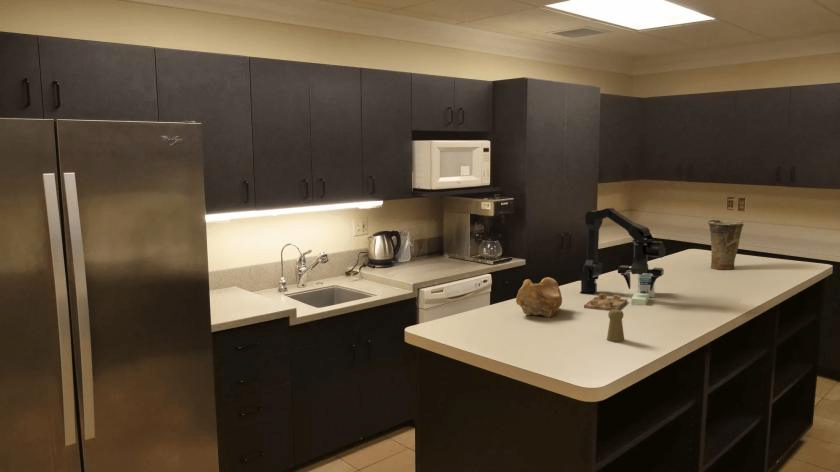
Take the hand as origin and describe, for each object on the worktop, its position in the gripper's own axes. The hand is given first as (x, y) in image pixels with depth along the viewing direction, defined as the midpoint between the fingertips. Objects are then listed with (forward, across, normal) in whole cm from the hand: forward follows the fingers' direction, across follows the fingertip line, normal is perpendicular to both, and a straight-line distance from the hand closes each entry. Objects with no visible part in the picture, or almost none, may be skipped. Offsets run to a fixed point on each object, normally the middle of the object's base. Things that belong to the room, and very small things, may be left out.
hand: (640, 289), depth 279 cm
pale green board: (+6, 0, 0) cm, 6 cm away
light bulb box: (+6, -1, +15) cm, 16 cm away
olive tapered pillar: (+6, +5, -62) cm, 63 cm away
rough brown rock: (+6, -31, -38) cm, 49 cm away
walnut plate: (+6, -12, -12) cm, 18 cm away
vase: (+6, +24, +99) cm, 102 cm away
